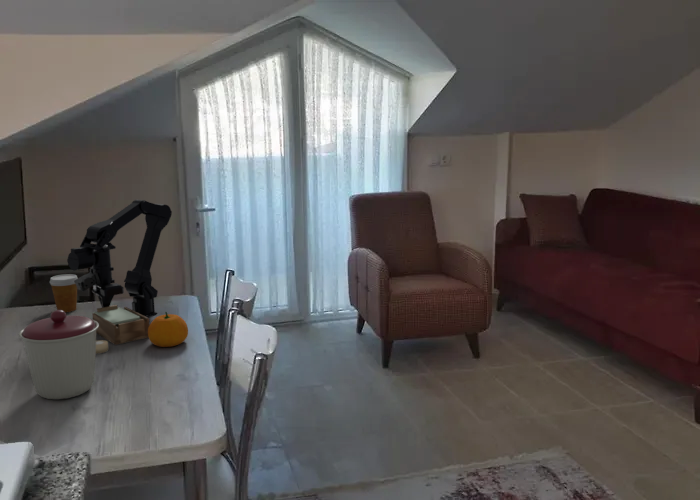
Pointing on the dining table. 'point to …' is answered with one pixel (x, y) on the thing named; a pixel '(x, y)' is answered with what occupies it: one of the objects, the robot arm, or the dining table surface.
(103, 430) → the dining table surface
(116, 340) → the walnut box
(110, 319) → the lid
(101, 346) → the tape roll
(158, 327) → the fruit
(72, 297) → the disposable coffee cup
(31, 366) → the canister
